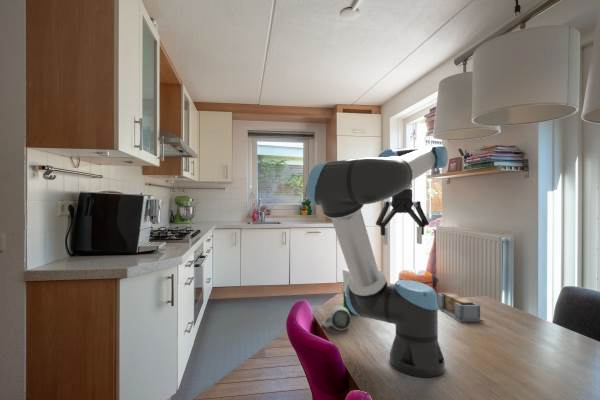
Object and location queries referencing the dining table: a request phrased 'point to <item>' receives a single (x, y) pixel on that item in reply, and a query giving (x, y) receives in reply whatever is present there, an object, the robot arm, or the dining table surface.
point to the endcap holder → (460, 310)
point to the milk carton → (345, 282)
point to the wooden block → (454, 301)
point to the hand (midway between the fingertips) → (402, 243)
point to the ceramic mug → (338, 318)
